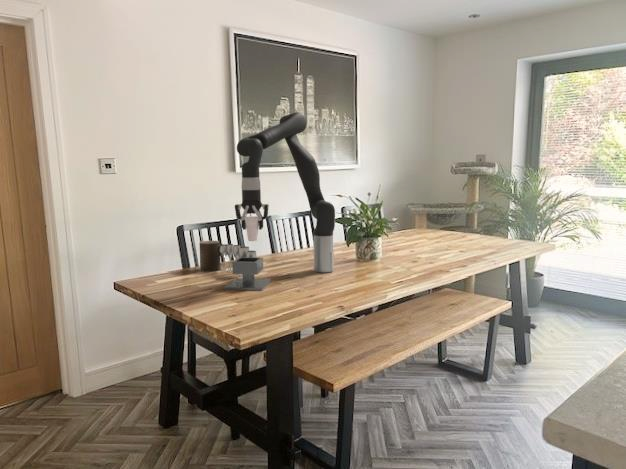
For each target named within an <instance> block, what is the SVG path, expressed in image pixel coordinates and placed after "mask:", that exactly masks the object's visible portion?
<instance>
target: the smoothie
mask: <svg viewBox="0 0 626 469" xmlns="http://www.w3.org/2000/svg"><path fill="white" fill-rule="evenodd" d="M244 220H245V223H246V229H245V230H246V235H247V241H248V242H257V241H258V238H259V237H258V235H259V218H258V216H257V215H256V216H255V215H254V216H252V213H250V214H249V216H246V217H245V218H244Z"/></svg>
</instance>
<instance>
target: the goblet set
mask: <svg viewBox="0 0 626 469" xmlns="http://www.w3.org/2000/svg"><path fill="white" fill-rule="evenodd" d="M218 252H219V255H220V258H222V260H223V261H222V262H223V265H225V259H226V257H228V259H229V266H230V267H229V268H228V267H223V268H221V269H220V270H219V271H223V272H224V271H226V273H233V269H232V257H234V259H235V260H236V259H238V258H239V257H258V256H257V251H256V250H250V246H241V245H240V244H233V243H227V244H225V243H222V244H220V246H219V248H218ZM238 275H239V276H240V277H243V275H242V274H238ZM254 278H257V276H256V275H254Z"/></svg>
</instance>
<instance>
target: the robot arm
mask: <svg viewBox="0 0 626 469" xmlns="http://www.w3.org/2000/svg"><path fill="white" fill-rule="evenodd" d="M307 122H308V120H307V118H306V116H305V115H304V114H303V113H301V112H292V113H289V114H285V115H284V116H282V117H281V118H280V119H279V123H278V124H276V125H274V126H270V127H268V128H265V129H264V130H261V131H259V132H258V133H257V134H253V135H250V136H246V137H244V138H242V139H240V140H239V141H238V142H237V145H236V151H237V153H238V154H239V156H242V157H248V159H247V160H248V161H247V162H245V163H242V165H241V198H242V199H241V203H239V204H238V203H237V204H235V205H234V211H235V217H236V219H237V220H240V222H241V229H242V230H245V231H246V230H247V229H246V223H245V220H244V218H245V217H248V214H249V215H250V213H251V214H253V215H256V216H257V217H258V218H259V227H258V231H261V230H263V228H264V220H266V219H268V217H269V216H268V215H269V208H270V207H269V204H268V203H267V204H265V203H262V201H261V200H262V197H261V196H262V193H261V179H260V165H261V161H262V156H263V150H266V149H268V148H270V147H271V146H273V145H275V144H277V143H279V142H280V141H282V140H285V142H286V144H287V147H288V149H289V151H290V154H291V157H292V159H293V161H294V164H295V167H296V171H297V173H298V175H299V178H300V182H301V184H302V186H303V189H304V191H305V194H306V197H307V200H308V204H309V209H310V213H311V215H312V216H313V218H314V219H316V224H315V225H316V226H315V228H314V229H313V271H314V272H315V273H317V272H318V273H331V272H332V273H333V271H334V268H335V267H334V266H335V264H334V261H335V260H334V259H335V258H334V257H335V255H334V254H335V253H334V252H335V251H334V230H335V227H336V224H335V223H336V219H335V218H336V212H335V211H336V210H335V206H334V205H333V204H332V203H331V202H330V201H326V199H325V197H324V195H323V193H322V190H321V183H320V181H321V180H320V178H321V177H320V171H319V167H318V165H317V161H316V159H315V158H314V156H313V155H312V154H311V153H310V152H309V151H308V150H307V149H306V148H305V147H304V146H303V145H302V143H301V142H300V140H299V138H298V134H301V133H303V132H304V131H305V130H306V129H307V126H308V123H307ZM241 208H242V209H243V213H242V214H241ZM261 209H262V210H263V215H262V212H261Z"/></svg>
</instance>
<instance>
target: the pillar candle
mask: <svg viewBox="0 0 626 469" xmlns="http://www.w3.org/2000/svg"><path fill="white" fill-rule="evenodd" d="M220 243H221V242H220V241H219V240H210V239H208V240H204V241H199V266H200V271H202V272H206V273H209V272H211V273H212V272H217V271H221V270H220V269H221V265H222V264H221V256H220V255H219V252H218V248H219V246H220V245H221V244H220Z"/></svg>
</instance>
